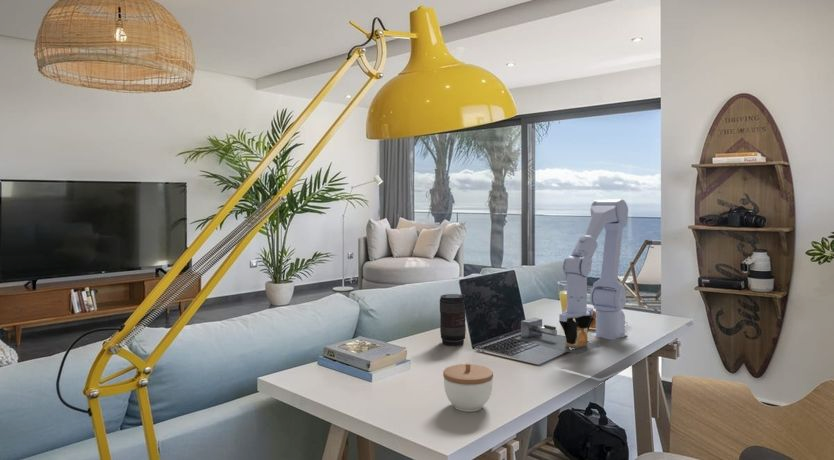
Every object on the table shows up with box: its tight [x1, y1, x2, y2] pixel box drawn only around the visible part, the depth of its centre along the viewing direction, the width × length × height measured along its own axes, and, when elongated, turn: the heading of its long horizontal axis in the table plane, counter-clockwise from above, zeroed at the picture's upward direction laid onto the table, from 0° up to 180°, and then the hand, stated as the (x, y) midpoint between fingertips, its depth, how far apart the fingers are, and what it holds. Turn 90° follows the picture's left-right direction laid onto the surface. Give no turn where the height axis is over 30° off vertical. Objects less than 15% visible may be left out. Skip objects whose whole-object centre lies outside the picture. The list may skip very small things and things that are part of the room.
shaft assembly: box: [520, 317, 558, 339], centre depth 170 cm, size 7×10×5 cm, turn 40°
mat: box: [513, 333, 602, 355], centre depth 166 cm, size 13×23×1 cm, turn 40°
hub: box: [564, 326, 589, 349], centre depth 160 cm, size 5×4×5 cm
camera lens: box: [439, 293, 467, 347], centre depth 168 cm, size 8×8×15 cm
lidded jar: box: [442, 362, 494, 413], centre depth 117 cm, size 11×11×9 cm
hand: (576, 341), depth 161 cm, fingers closed on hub, 5 cm apart
